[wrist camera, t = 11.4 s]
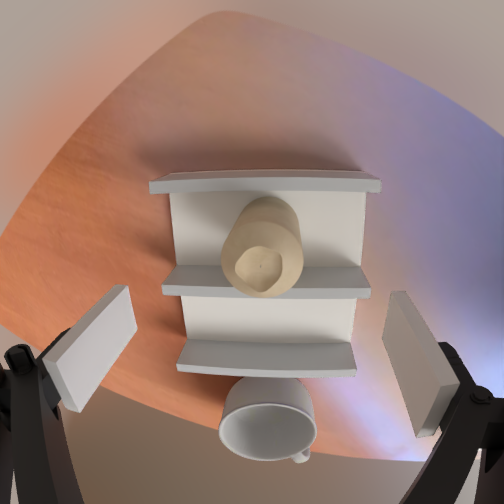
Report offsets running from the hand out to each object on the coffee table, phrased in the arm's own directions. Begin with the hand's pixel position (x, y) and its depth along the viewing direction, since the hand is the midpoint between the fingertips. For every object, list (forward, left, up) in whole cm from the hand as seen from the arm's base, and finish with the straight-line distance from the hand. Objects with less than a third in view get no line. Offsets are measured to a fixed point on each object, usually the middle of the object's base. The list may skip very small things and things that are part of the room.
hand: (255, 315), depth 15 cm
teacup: (-1, +23, -17) cm, 28 cm away
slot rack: (0, +4, -16) cm, 17 cm away
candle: (0, 0, -15) cm, 15 cm away
